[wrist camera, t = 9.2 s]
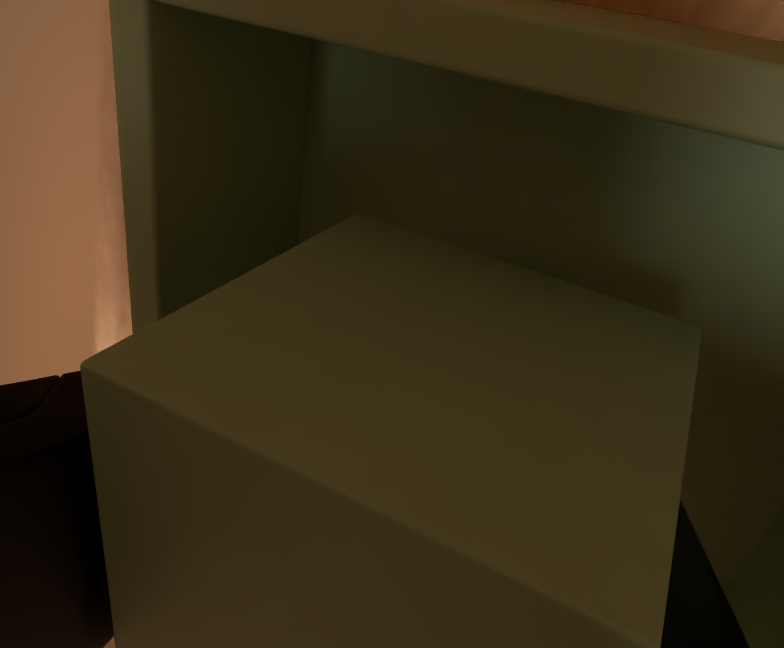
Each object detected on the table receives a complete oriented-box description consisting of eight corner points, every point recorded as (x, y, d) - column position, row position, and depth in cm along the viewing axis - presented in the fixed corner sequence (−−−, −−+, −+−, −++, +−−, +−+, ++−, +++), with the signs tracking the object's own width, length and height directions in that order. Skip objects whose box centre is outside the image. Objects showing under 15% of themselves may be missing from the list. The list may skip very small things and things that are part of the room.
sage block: (325, 458, 11) (117, 684, 7) (356, 211, 9) (76, 362, 5) (584, 582, 9) (484, 940, 6) (704, 325, 7) (663, 651, 4)
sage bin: (274, 436, 15) (146, 553, 12) (308, -47, 10) (100, -72, 7) (716, 651, 12) (705, 890, 9) (1095, 101, 7) (1408, 184, 4)
